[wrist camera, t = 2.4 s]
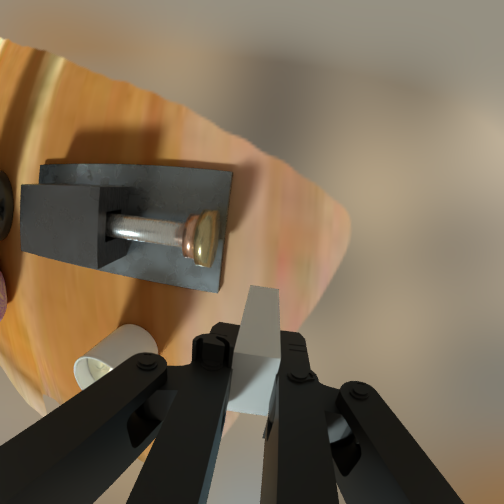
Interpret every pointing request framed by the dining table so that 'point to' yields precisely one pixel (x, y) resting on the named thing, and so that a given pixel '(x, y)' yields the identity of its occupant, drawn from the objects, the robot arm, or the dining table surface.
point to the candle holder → (112, 353)
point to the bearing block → (127, 203)
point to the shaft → (172, 233)
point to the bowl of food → (2, 296)
